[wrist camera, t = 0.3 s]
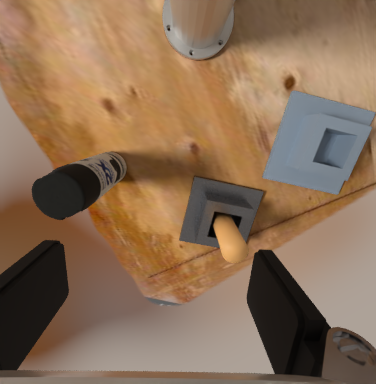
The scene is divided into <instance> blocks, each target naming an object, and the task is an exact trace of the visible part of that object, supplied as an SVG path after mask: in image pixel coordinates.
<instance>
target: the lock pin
mask: <svg viewBox="0 0 376 384" xmlns="http://www.w3.org/2000/svg"><path fill="white" fill-rule="evenodd" d="M212 224H213V227H214V230H215V233H216V236H217V239H218V242H219V245H220V248H221V252H222V255H223V257H224V259H225V260H227V261H228V262H231V263H238V262H241V261H243V260H244V259H245V258H246V257H247V255H248V252H249V249H248V246H247V244H246V242H245V241H244V239H243V237H242V235H241V234H240V232H239V230H238V228H237V226H236V225H235V223H234V221H233V219H232V218H231V216H230V214H227V213H222V212H217V211H214V214H213V218H212Z"/></svg>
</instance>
